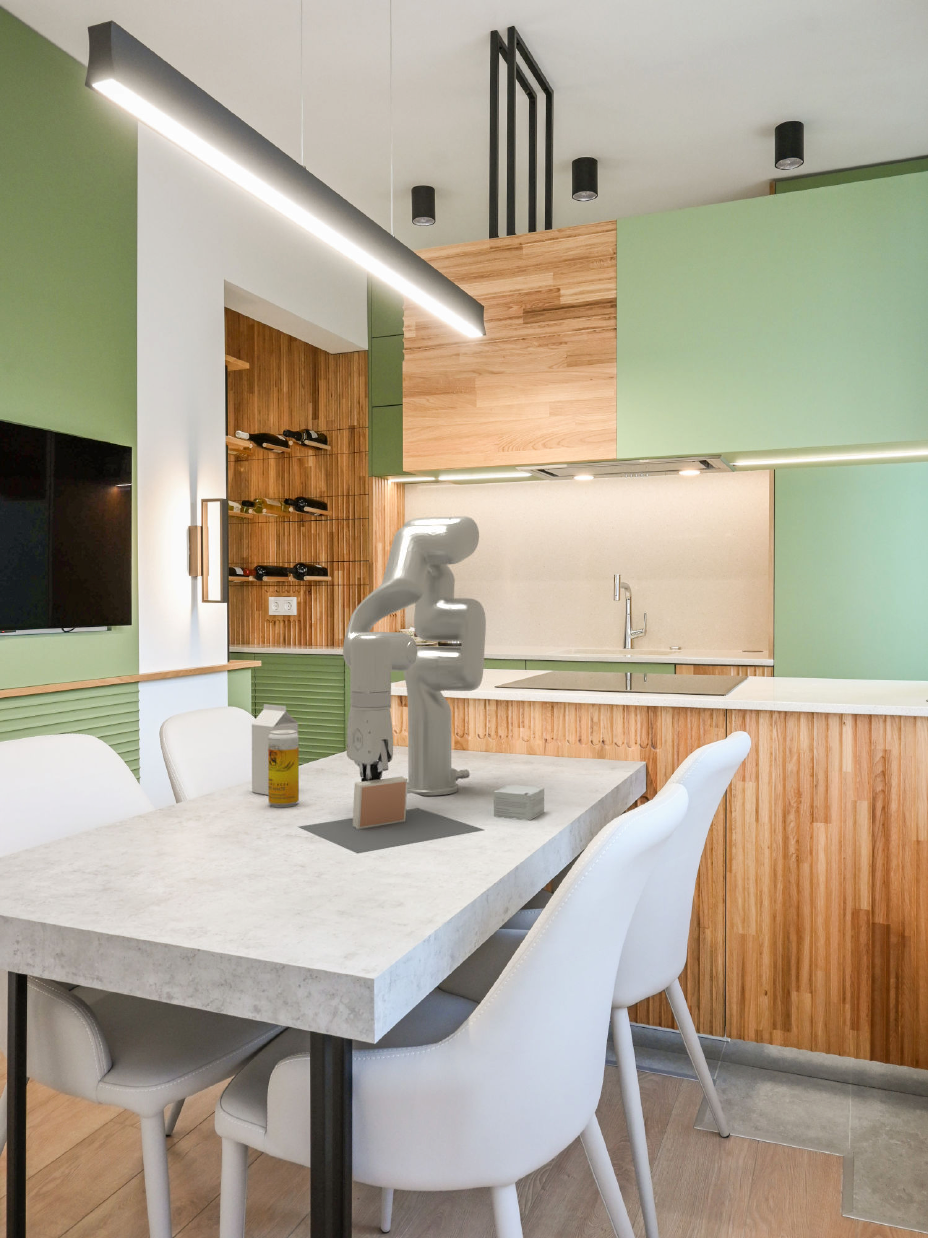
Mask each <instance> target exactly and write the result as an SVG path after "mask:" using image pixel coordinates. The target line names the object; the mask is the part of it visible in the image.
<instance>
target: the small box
mask: <svg viewBox="0 0 928 1238" xmlns="http://www.w3.org/2000/svg"><path fill="white" fill-rule="evenodd" d="M544 813H545V788H544V787H541V786H531V785H530V786H529V785H515V784H508V785H505V786H504V787H501V788H499V789H497V790H495V791H493V817H494V816H497V817H496V818H502V817H504V819H511V818H516V819H515V820H521V819H526V820H525V821H532V820H534V819H535V818H537V817H539V816H540V815H542V814H544ZM533 818H534V819H533ZM531 819H532V820H531Z"/></svg>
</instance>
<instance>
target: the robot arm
mask: <svg viewBox="0 0 928 1238" xmlns="http://www.w3.org/2000/svg"><path fill="white" fill-rule="evenodd" d="M479 542H480V531H479V527H478V524H477V522H476V521H475V520H474V519H473V518H472V517H469V516H430V517H428V516H427V517H417V518H413V519H409V520H408V521H406V522H405V523H403V525H402V526H401V528H399V529H398V530H397V531H396V532H395V534H394V536H393V539H392V543H391V547H390V551H389V554H388V558H387V561H386V562H387V563H386V566H385V571H384V574H383V577H382V582H381V584H380V585H379V586H378V587H376V589H374V590H373V591H372V592H371V593H370V594H368V595H367V596H366V597H365V598H364V599H363V600H362V601H360V603H359V604H358V605H357V606H356V607H355V609H354V610H353V612H352V614H351V616H350V618H349V621H348V624H347V628H346V632H345V636H344V640H343V646H342V647H343V648H342V650H343V651H342V656H343V660H344V662H345V664H346V666H348V667H349V668H350V709H349V713H348V720H347V729H346V730H347V732H346V757H347V758H348V759H349V760H351V761H352V762H354V764H355V765H356V766H357V767H358V768H359V777H360V780H361V781H360V782H363V781H371V780H379V779H383V778H382V777H383V772H386V771H389V763H390V762H392V760H393V757H394V756H393V755H394V735H393V721H392V713H391V712H392V711H391V709H392V672H403V676H404V680H405V688H406V696H407V720H408V721H407V723H408V725H407V726H408V727H407V728H408V729H407V731H408V733H407V741H408V742H407V746H408V747H407V748H408V749H407V756H408V763H407V764H408V768H407V771H408V773H407V774H408V775H407V776H408V778H407V795H408V794H415V795H417V796H426V797H427V796H444V795H449V794H454V793H457V792H458V791H459V789H460V788H459V784H458V783H456V782H457V781H458V780H459V779H461V780H464V779H468V778H469V777H470V771H469V769H460V770H457V769H456V768H453V767H452V709H451V706H450V704H449V703H448V701H447V699H446V697H445V696H444V695H443V693H442V692H445V691H447V692H448V691H449V692H472V691H475V690H476V689H478V688H479V687H480V686H481V684H482V680H483V677H484V665H485V664H484V662H485V646H486V629H487V627H486V625H487V622H486V621H487V619H486V618H487V617H486V613H485V608H484V607H483V605H482V603H481V602H480V601H478V600H477V599H475V598H466V597H465V598H461V597H460V598H455V583H456V582H455V580H456V578H455V575H454V573H453V571H452V570H451V568H450V567H449V565H456V564H459V563H461V562H462V561H464V560H465V559H467V558H469V557H470V556H471V555H473V554H474V553H475V551H476V550H477V548H478V545H479ZM412 605H414V617H413V618H414V619H413V620H414V621H413V624H414V625H413V629H414V633H415V635H416V636H417V638H419V639H421V640H423V641H429V642H459V643H461V647H460V646H459V647H458V646H457V647H456V646H420V647H417V646H418V645H417V643H416V642H417V641H415V639H414V637H412V636H411V635H409V634H408V633H405V632H399V631H397V632H395V631H394V632H392V631H391V632H390V631H389V632H388V631H387V632H386V631H371V629H372V628H373V627H374V626H375V625H376V624H377V623H378V622H379V621H380V620H382V619H383V618H386V617H387V616H389V615H391V614H394V613H396V612H399V611H401V610H403V609H406V608H408V607H410V606H412Z"/></svg>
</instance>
